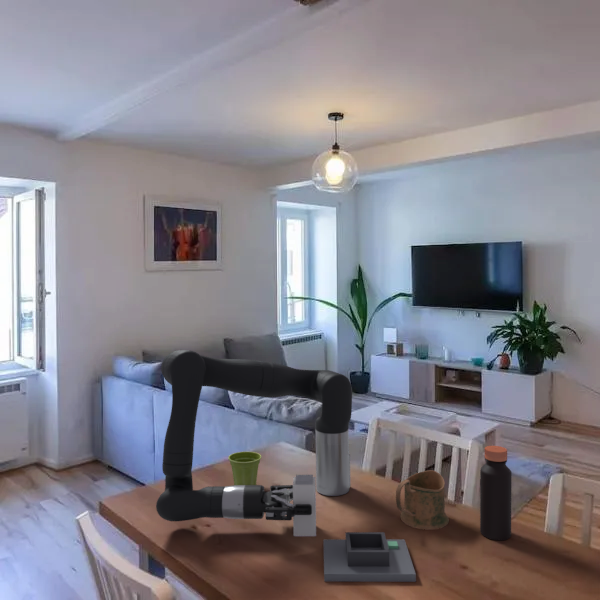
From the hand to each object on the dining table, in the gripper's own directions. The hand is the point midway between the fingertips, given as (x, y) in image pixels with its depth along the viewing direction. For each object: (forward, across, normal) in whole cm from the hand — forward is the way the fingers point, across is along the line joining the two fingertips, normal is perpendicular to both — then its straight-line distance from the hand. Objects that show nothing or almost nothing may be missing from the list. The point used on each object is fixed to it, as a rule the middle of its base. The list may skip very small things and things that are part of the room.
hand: (312, 501), depth 130 cm
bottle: (+42, -2, +7) cm, 43 cm away
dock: (+12, -14, +7) cm, 20 cm away
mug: (+26, +4, +7) cm, 27 cm away
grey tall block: (-2, 0, +7) cm, 7 cm away
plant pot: (-20, +27, +7) cm, 34 cm away
